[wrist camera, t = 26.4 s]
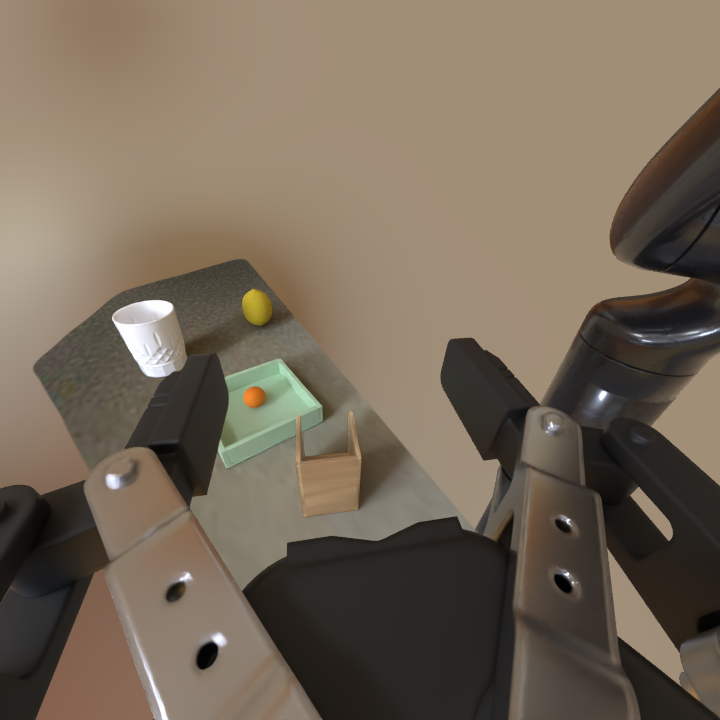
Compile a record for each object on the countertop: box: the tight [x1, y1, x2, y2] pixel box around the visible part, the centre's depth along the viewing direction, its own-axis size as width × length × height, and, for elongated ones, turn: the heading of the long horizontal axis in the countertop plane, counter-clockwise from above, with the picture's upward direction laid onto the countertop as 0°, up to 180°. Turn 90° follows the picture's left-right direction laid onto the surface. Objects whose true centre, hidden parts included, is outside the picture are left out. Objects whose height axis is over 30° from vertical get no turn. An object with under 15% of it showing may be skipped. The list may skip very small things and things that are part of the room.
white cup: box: [112, 300, 188, 377], centre depth 49 cm, size 8×8×10 cm
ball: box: [243, 386, 266, 408], centre depth 43 cm, size 3×3×3 cm
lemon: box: [242, 289, 272, 326], centre depth 61 cm, size 6×6×8 cm
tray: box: [218, 358, 323, 469], centre depth 43 cm, size 13×13×3 cm
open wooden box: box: [296, 411, 361, 517], centre depth 32 cm, size 6×6×9 cm
